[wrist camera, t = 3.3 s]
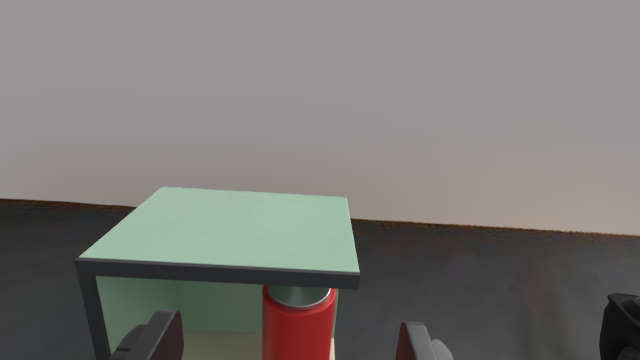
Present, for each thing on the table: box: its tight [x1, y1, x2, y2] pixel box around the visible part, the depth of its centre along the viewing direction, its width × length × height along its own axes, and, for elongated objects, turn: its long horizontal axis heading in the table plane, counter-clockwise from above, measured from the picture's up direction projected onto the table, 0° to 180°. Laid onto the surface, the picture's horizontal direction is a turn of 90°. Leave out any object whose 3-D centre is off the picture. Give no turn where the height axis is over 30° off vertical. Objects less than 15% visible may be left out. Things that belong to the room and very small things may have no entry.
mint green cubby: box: [75, 187, 360, 360], centre depth 27 cm, size 11×16×16 cm
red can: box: [262, 285, 336, 360], centre depth 27 cm, size 5×5×10 cm
